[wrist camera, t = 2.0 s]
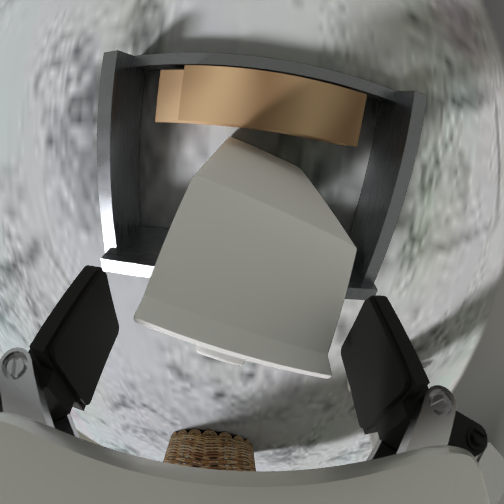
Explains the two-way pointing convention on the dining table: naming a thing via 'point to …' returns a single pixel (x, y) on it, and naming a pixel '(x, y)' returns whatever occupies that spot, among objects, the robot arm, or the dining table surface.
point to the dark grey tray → (134, 67)
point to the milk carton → (252, 265)
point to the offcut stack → (260, 102)
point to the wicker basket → (210, 451)
